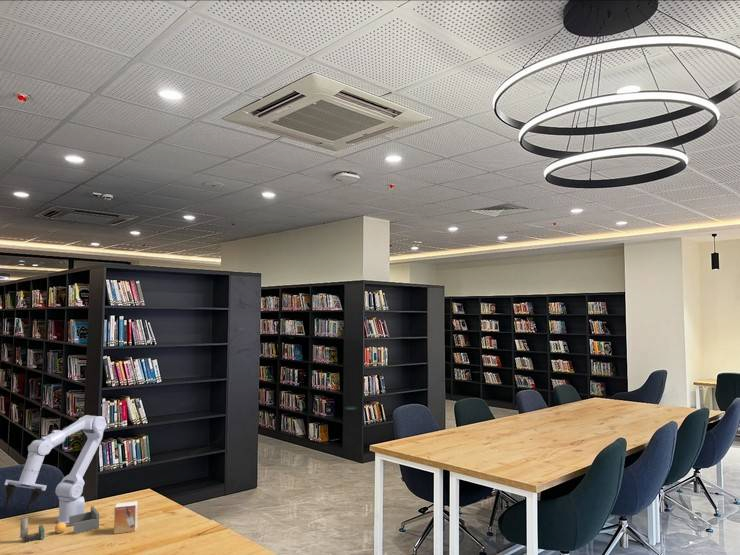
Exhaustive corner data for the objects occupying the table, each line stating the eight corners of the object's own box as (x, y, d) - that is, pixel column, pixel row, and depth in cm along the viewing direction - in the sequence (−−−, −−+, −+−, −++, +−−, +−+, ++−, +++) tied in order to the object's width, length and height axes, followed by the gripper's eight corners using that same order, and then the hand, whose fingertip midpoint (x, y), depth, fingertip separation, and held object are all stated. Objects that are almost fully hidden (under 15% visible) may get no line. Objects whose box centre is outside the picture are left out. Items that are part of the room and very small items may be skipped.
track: (38, 536, 217) (38, 532, 217) (39, 539, 214) (39, 535, 214) (23, 539, 214) (23, 535, 214) (24, 543, 210) (24, 539, 211)
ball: (65, 529, 223) (65, 519, 223) (66, 532, 219) (67, 522, 220) (54, 532, 220) (54, 522, 220) (55, 535, 217) (55, 525, 217)
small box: (113, 534, 217) (114, 507, 218) (116, 529, 222) (116, 502, 223) (135, 532, 219) (135, 505, 220) (137, 526, 225) (137, 500, 225)
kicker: (42, 533, 219) (42, 512, 219) (44, 538, 214) (44, 516, 214) (19, 538, 214) (19, 516, 214) (21, 543, 209) (21, 521, 209)
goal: (93, 520, 232) (93, 506, 232) (98, 528, 223) (99, 513, 224) (69, 526, 227) (69, 511, 227) (74, 534, 218) (74, 518, 218)
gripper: (8, 467, 214) (-6, 504, 209) (48, 473, 217) (35, 510, 212) (13, 468, 220) (-1, 504, 215) (52, 474, 224) (39, 509, 218)
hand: (17, 507), depth 214 cm, fingers open, 7 cm apart
